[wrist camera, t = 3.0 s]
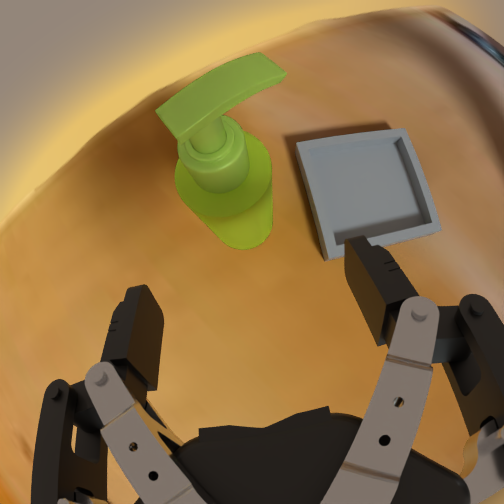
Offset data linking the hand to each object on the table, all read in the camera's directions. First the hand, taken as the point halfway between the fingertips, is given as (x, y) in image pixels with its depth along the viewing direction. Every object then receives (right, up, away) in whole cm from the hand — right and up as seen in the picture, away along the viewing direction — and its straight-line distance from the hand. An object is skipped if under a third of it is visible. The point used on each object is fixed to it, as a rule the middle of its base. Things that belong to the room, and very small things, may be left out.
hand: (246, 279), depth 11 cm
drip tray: (+12, +7, +18) cm, 23 cm away
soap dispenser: (0, +4, +19) cm, 19 cm away
